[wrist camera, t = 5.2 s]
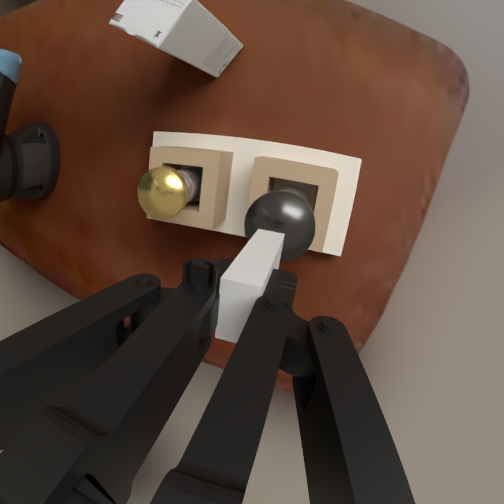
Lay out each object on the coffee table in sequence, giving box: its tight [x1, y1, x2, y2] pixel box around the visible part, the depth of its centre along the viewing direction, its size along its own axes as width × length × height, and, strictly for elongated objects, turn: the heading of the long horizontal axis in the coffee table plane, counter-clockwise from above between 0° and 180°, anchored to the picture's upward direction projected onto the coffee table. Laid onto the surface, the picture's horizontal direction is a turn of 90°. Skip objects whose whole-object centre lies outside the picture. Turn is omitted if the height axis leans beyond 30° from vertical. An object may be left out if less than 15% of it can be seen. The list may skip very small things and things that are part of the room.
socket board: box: [147, 131, 362, 256], centre depth 33 cm, size 26×12×7 cm, turn 82°
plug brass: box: [138, 166, 203, 220], centre depth 31 cm, size 5×5×9 cm
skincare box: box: [109, 0, 243, 78], centre depth 24 cm, size 8×6×15 cm
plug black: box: [244, 185, 315, 261], centre depth 25 cm, size 5×5×9 cm
